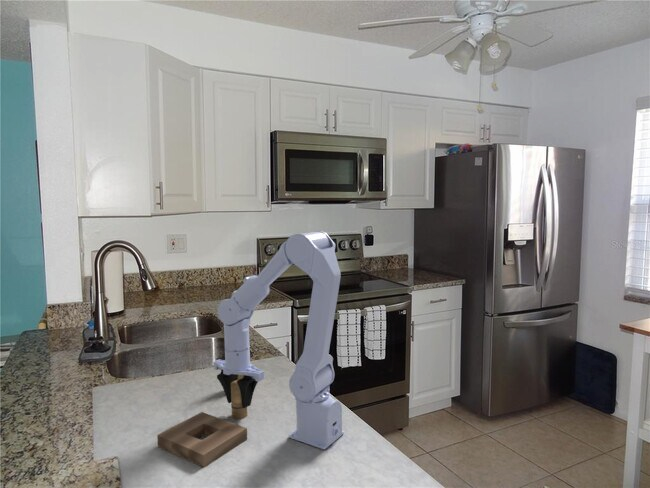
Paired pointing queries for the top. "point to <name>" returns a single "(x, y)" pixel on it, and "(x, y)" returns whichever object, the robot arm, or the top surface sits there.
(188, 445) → the board
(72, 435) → the top surface
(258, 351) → the top surface
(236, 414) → the dowel
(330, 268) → the robot arm
